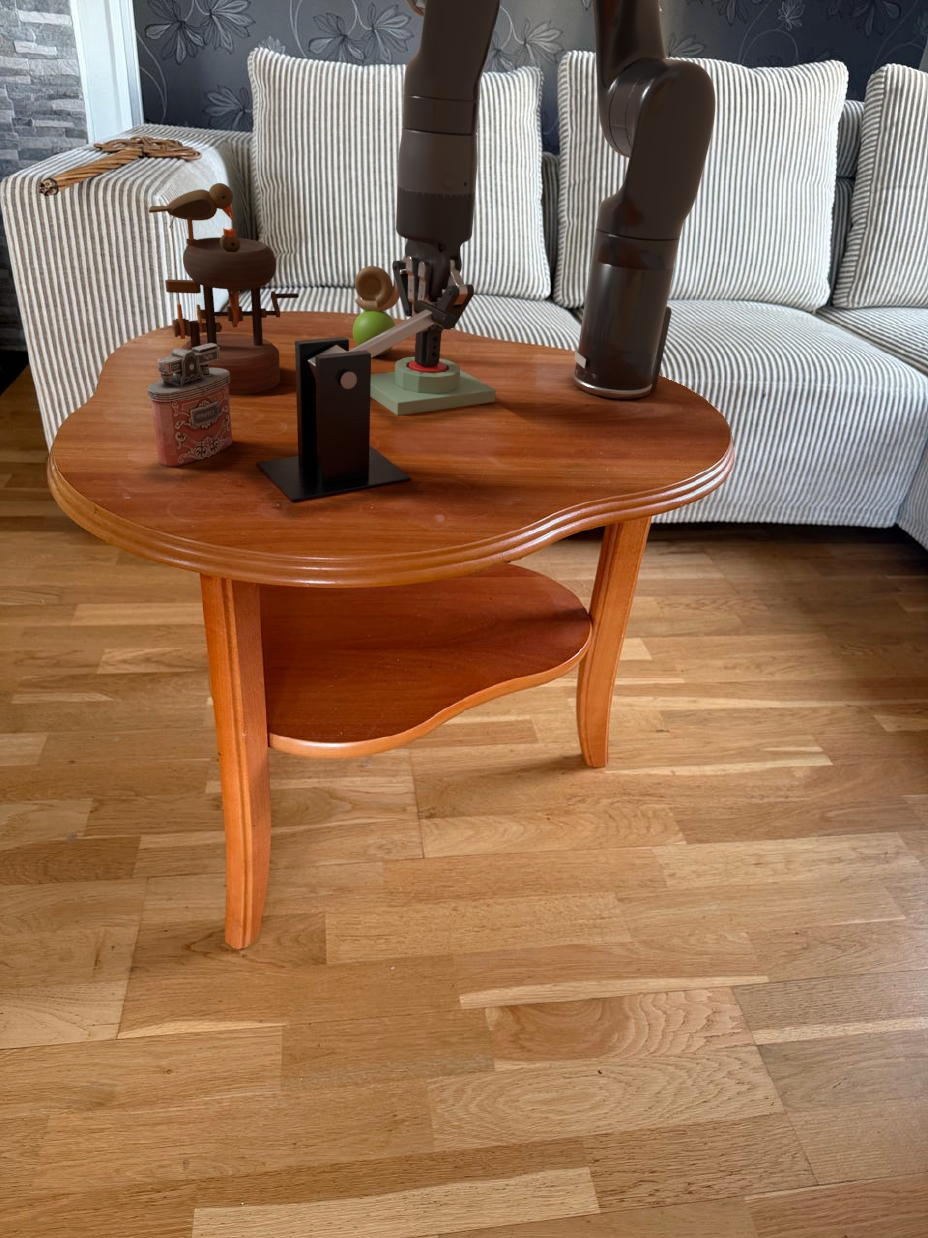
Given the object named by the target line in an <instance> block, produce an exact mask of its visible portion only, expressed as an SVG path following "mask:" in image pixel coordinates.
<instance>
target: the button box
mask: <svg viewBox="0 0 928 1238" xmlns="http://www.w3.org/2000/svg"><path fill="white" fill-rule="evenodd" d="M413 360H415V356H407V357H403V358H401V359H398V360H396V361H395V365H394V371H388V372H380V373H371V392H370V398H372V399H373V400H374V401H376V402H377V403H379V404H381V405H382V406H383V407H385V408H386V409H388V410H389V411H390V412H391V413H393V414H395V415H396V416H403V415H404V416H405V415H411V414H418V413H425V412H432V411H439V410H446V409H454V408H460V407H466V406H474V405H475V406H476V405H482V404H488V403H495V402H496V392H497V390H496V389H495V388H493V387H491V386H489V385H488V384H486V383H485V382H483V381H481V380H479V379H477V378H476V377H474V376H472V375H470V374H469V373H467V372H465V371H464V370H462V369H461V366H460V365H459V364H457V363H455V362H454V361H452V360H448V359H445V358H441V357H440V358H439V361H440V362H443V363H444V364H446V366H447V367H446V371H445V372H441V373H422V372H418V371H414V370H411V369H409V363H410V362H411V361H413Z"/></svg>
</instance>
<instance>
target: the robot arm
mask: <svg viewBox="0 0 928 1238" xmlns="http://www.w3.org/2000/svg"><path fill="white" fill-rule="evenodd" d="M660 1H661V0H591V7H592V18H593V29H594V31H593V32H594V49H595V53H594V54H595V75H596V97H597V110H598V111H597V112H598V119H599V124H600V128H601V131H602V136H603V137H604V139H605V141H606V142H607V145H608V146H609V147H610V148H611V150H613V151H614V152H615V153H617V154H618V155H620V156H622V157H624V158H627V159H628V162H627V166H626V170H625V175H624V179H623V183H622V184H621V186H620V188H619V189H618V190H617V191H616V192H615V193H614V194H612V195H611V196H608V197H606V198H604V199H602V201H601V202H600V204H599V207H598V211H597V216H596V217H597V218H596V225H595V227H596V228H595V230H594V237H593V243H592V251H591V257H590V264H589V272H588V273H589V274H588V278H587V285H586V293H585V299H584V306H583V312H582V321H581V325H580V332H579V339H578V347H577V350H575V352H574V358H573V360H574V362H575V367H574V370H573V373H572V374H573V375H572V384H573V385H574V386H575V387H576V388H577V389H579V390H581V391H583V392H585V393H588V394H591V395H594V396H597V397H598V396H599V397H603V398H609V399H621V400H630V399H632V400H633V399H640V398H644V397H647V396H648V395H649V394H651V392H652V391H656V390H657V387H658V382H659V377H660V373H661V367H662V363H663V358H664V352H665V349H666V342H667V337H668V333H669V328H670V324H671V323H670V322H671V317H672V313H673V311H672V308H671V307H670V306H668V302H669V296H670V292H671V286H672V280H673V276H674V271H675V265H676V259H677V256H678V255H677V254H678V250H679V244H680V240H681V235H682V231H683V226H684V223H685V221H686V219H687V218H688V216H689V215H690V213H691V211H692V209H693V207H694V204H695V202H696V200H697V196H698V192H699V189H700V184H701V181H702V177H703V176H702V175H703V172H704V168H705V165H706V160H707V156H708V152H709V148H710V144H711V139H712V135H713V130H714V124H715V117H716V92H715V87H714V83H713V81H712V78H711V76H710V75H709V73H708V72H707V70H706V69H705V68H704V67H702V66H701V65H700V64H698V63H696V62H693V61H691V60H690V61H689V60H683V59H676V58H675V59H674V58H666V57H667V56H666V52H665V46H664V40H663V29H662V17H661V4H660V3H661V2H660ZM404 2H405V3H406V5H407V6H408V8H409V9H410V10H411V12H413V13H414V14H415V15H417V16H419V17H420V18H422V19H423V21H422V27H421V28H422V29H421V34H420V35H421V36H420V41H419V42H420V43H419V48H418V51H417V53H416V54H415V55H413V56H412V57H411V58H409V60H408V62H407V64H406V67H405V72H404V79H403V94H402V95H403V97H402V119H401V120H402V121H401V122H402V123H401V125H402V128H401V136H400V142H399V149H398V159H397V160H398V161H397V184H396V186H397V187H396V189H397V190H396V215H395V217H396V218H395V231H396V234H398V235H399V236H400V237H401V238H403V239H406V242H405V245H404V254H405V257H404V258H403V257H402V259H400V260H393V261H392V264H391V269H392V273H393V275H394V276H393V277H394V281H395V280H396V284H397V287H398V291H399V295H400V298H399V299H400V302H401V307H402V309H403V312H404V316H405V317H407V318H408V317H409V318H411V317H413V316H415V315H417V314H416V313H415V312H414V309H413V307H414V304H415V302H417V301H418V300H422V301H424V302H426V303H428V304H430V305H432V306H434V307H436V308H438V309H440V310H443V311H445V312H447V313H449V314H451V315H453V316H454V318H455V325H454V327H453V328H452V329H454V328H455V327H456V325H457V324H458V322H459V320H460V319H461V317H462V316H463V314H464V312H465V311H466V309H467V307H468V305H469V304H470V302H471V300H472V299H473V297H474V295H475V287H474V285H473V284H472V283H468V284H467V283H465V281H464V279H463V278H462V275H461V271H462V269H463V261H462V253H461V247H462V246H463V244H464V243H467V242H468V241H470V240H471V239H472V236H473V231H474V229H473V228H474V215H475V205H476V191H477V178H478V177H477V176H478V167H479V165H478V163H479V159H478V158H479V155H478V154H479V153H478V152H479V151H478V133H479V132H478V131H479V121H480V120H479V119H480V108H481V107H480V106H481V105H480V103H481V83H482V79H483V74H484V71H485V69H486V65H487V61H488V59H489V55H490V52H491V47H492V43H493V39H494V35H495V31H496V27H497V22H498V19H499V14H500V10H501V5H502V0H404ZM444 330H446V329H445V328H443V327H441V326H439V325H437V324H433V325H431V326H429V327H428V328H426V329H424V330H422V331H420V332H418V333H417V334H415V339H414V340H415V341H414V342H415V343H414V357H415V362H416V363H418V364H419V365H421V366H422V367H431V366H437V365H438V364H439V358H441V346H442V345H441V344H442V342H441V341H442V333H443V331H444Z"/></svg>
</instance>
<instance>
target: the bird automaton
mask: <svg viewBox="0 0 928 1238" xmlns="http://www.w3.org/2000/svg"><path fill="white" fill-rule="evenodd" d="M233 201H234V194H233V192H232V189H231V188H230V187H229V186H228V185H227V184H225V183H222V182H218V183H214V184H212V186H210V188H209V190H207V189H202V188H200V189H194V190H191V191H188V192H185V193H183V194H181V195H179V196H177V197H176V198H174V199H172V200H171V201H170V202H169V203H168V204H167V205H151V206H149V208H148V213H150V214H152V213H161V212H162V213H163V212H167V213H168V214H169V216H171V217H172V219H171V223H170V225H169V226H168V227H169V229H170V231H171V233H170V234H171V241H172V242H171V243H172V253H173V262H174V272H175V279H173V278H171V279H165V281H164V283H165V292H166V293H168V294H177V302H178V304H177V305H176V306H177V308H176V309H177V318H174V319H172V330H173V336H174V338H178V337H180V340H183V339H184V340H185V338H186V337H188V338H189V337H190V339H188V341H186V342H185V344H183V346H182V347H181V349H184V350H187V351H190V350H192V348H194V347H198V346H201V345H205V344H209V343H213V344H216V345H217V347H219V350H220V360H217V361H214V362H210V363H207V364H208V365H209V368H222V369H225V370H228V371H229V373H230V382H229V383H228V389H229V395H248V394H254V393H255V394H256V393H260V392H265V391H267V390H268V391H269V390H271V389H273V388H275V387H276V386H277V385H278V384H279V383H280V381H281V369H280V368H281V367H280V366H281V365H280V362H281V361H280V350H279V348H278V347H277V346H275V344H273V343H272V342H271V341H269V340H268V339H265V338H264V337H263V336H264V335H263V321H262V320H263V319H267V316H275V317H276V318H281V309H280V306H279V301H278V299H298V298H299V297H300V295H299V293H295V292H294V293H292V292H291V293H290V292H289V293H286V292H285V293H282V292H281V293H276V291H274V290H271V291H270V299H271V303H272V307H273V310H267V309H266V307H265V308H264V307H262V297H261V295H262V294H261V287H264V286H266V285H268V284H269V283H270V282H271V281H272V280H273V278H274V277H275V274H276V271H277V261H276V260H277V259H276V256H275V253H274V252H273V250H272V248H271V247H270V246H268V245H267V243H264V242H262V241H258V240H254V239H251V238H250V239H249V238H244V237H243V238H242V237H241V238H240V237H238V236H237V235H236V229H235V228H233V227H230V228H229V229H227V228H224V227H223V228H222V231H223V232H222V233H223V234H222V235H221V236H220V237H219V236H215V237H214V236H213V237H203V238H202V237H201V238H195V236H194V226H193V224H194V223H193V221H195V222H196V221H197V222H198V221H209V220H211V219H212V218H214V217H215V215H216V214H217V211H218V210H222V211H223V212H224V214H225V215H226V216H227V217H228V218H229V219H230V220H231V221H232V222H233V223H235V217H234V212H233V208H232V204H233ZM175 218H177V219H180V220H184V221H185V220H186V224H187V233H188V238H186V239H185V240H186V241H185V242H186V247H185V248H184V251H183V254H182V264H183V267H184V270H185V272H186V274H187V275H188V277H189V278H190V279H178V273H177V272H178V271H177V263H176V252H175V251H176V250H175V242H174V231H173V229H174V225H173V224H174V220H175ZM201 286H202V288H201ZM214 289H218V290H226V292H227V294H228V305H227V306H226V311H216V310H215V300H214V299H215V298H214ZM240 290H250V300H251V310H243V307H242V305H240ZM202 292H203V305H204V309H203V308H201V305H200V304H196V308H195V309H196V318H197V320H189V319H186V318H184V316H183V308H182V304H181V303H180V294H201V293H202ZM216 317H217V318H218V317H219V318H221V317H226V319H227V321H228V322H231V326H232V328H238V324H239V323H240V322H243V321H244V317H251V318H252V319H251V320H252V321H251V322H252V335H251V334H245V333H244V334H243V333H221V332H222V330H223V325H222V324H221V322H216ZM203 320H205V322H203ZM204 333H206V334H204ZM201 334H204V335H201Z"/></svg>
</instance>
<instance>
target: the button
mask: <svg viewBox="0 0 928 1238" xmlns="http://www.w3.org/2000/svg"><path fill="white" fill-rule="evenodd" d="M446 367H447V366H446V364H444V363H443V362H440V361H439V364H438V365H437V366H431V367H422V366H421V365H419V364H418V363H416V362H415V360H413V361H411V362H410V363H409V369H411V370H414V371H418V372H422V373H441V372H445V371H446Z"/></svg>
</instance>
